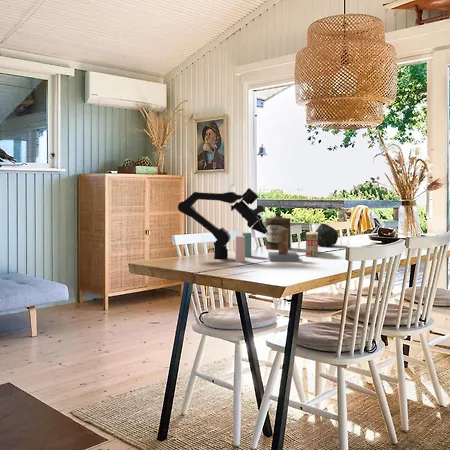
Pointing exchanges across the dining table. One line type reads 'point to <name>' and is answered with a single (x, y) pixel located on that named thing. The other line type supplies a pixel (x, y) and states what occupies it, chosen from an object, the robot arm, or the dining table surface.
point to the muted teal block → (247, 244)
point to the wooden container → (276, 231)
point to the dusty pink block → (240, 248)
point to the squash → (326, 235)
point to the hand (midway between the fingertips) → (266, 232)
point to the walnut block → (283, 241)
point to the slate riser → (283, 256)
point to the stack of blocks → (311, 244)
